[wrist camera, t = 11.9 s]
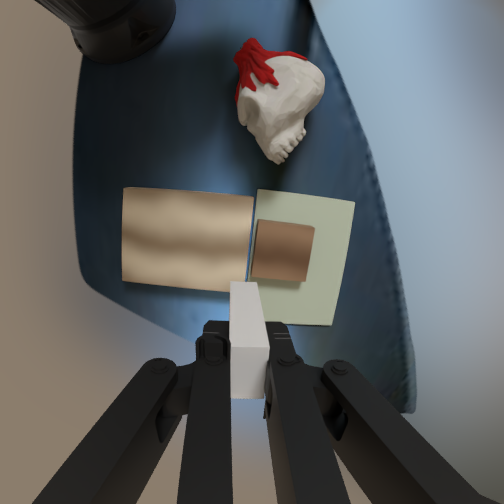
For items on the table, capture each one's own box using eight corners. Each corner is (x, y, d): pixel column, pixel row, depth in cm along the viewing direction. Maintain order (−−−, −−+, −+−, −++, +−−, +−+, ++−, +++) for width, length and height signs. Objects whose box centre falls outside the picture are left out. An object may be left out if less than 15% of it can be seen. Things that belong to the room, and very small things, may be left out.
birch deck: (130, 186, 36) (123, 188, 33) (252, 196, 37) (253, 197, 35) (128, 274, 39) (122, 280, 36) (242, 286, 40) (243, 293, 38)
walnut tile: (257, 218, 37) (258, 221, 35) (311, 225, 38) (315, 228, 36) (250, 271, 39) (251, 276, 37) (302, 276, 40) (305, 281, 38)
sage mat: (257, 188, 37) (257, 189, 36) (353, 201, 38) (355, 202, 38) (243, 319, 41) (243, 320, 41) (330, 323, 42) (331, 325, 42)
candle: (272, 171, 36) (204, 84, 34) (342, 125, 35) (274, 43, 33) (276, 161, 27) (190, 54, 25) (365, 104, 26) (277, 7, 24)
